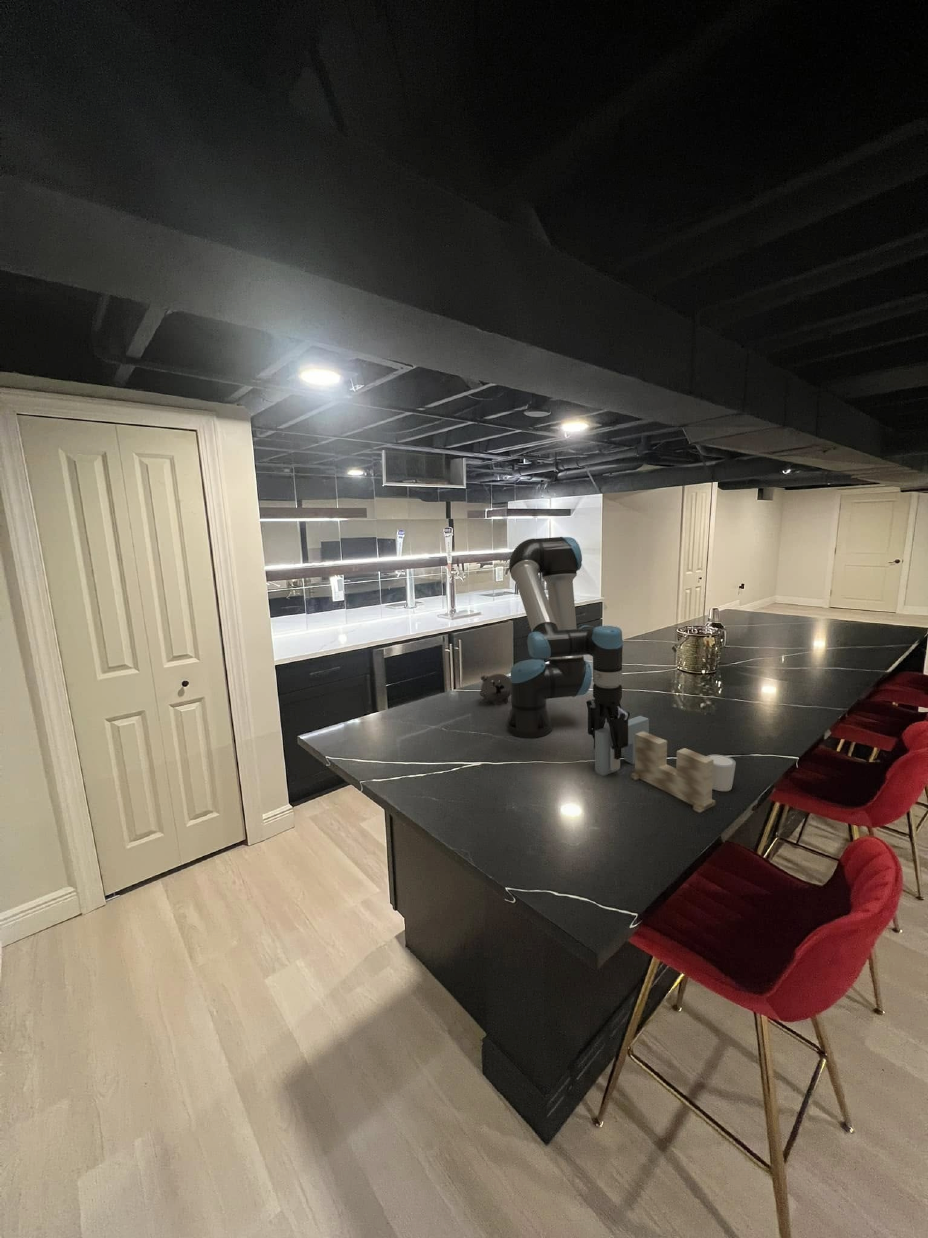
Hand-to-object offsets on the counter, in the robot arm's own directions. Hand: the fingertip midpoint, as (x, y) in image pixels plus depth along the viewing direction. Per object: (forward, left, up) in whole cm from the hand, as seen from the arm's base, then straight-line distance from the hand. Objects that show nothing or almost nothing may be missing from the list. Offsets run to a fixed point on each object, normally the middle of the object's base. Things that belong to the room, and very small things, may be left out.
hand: (607, 764), depth 132 cm
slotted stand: (+8, +15, -2) cm, 17 cm away
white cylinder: (+3, +27, -2) cm, 28 cm away
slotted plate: (-4, +4, -2) cm, 6 cm away
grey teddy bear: (-49, -41, -2) cm, 64 cm away
